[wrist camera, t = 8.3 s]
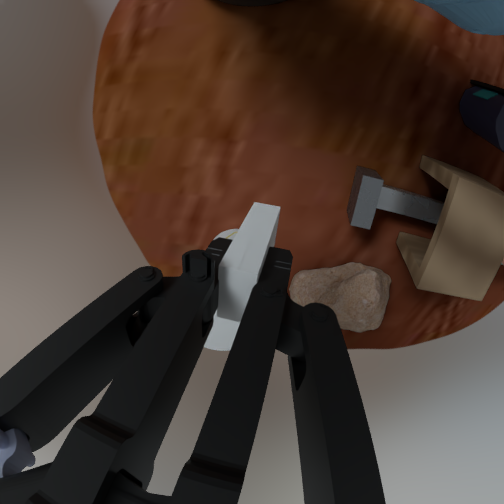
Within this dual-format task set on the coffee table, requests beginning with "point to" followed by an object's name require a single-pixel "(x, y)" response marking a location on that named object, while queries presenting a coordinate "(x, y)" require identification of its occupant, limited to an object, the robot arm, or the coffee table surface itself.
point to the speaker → (484, 112)
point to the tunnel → (458, 236)
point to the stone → (345, 293)
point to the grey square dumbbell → (386, 200)
